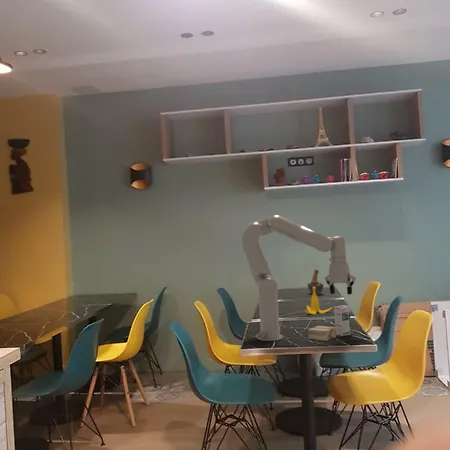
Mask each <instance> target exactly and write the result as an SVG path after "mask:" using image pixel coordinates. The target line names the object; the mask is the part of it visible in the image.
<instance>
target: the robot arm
mask: <svg viewBox="0 0 450 450" xmlns="http://www.w3.org/2000/svg"><path fill="white" fill-rule="evenodd" d="M275 232H276V234H279V235H282V236H283V237H286V238H287V239H288V238H289V239H290V240H292V241H295V242H298V243H302V244H304V245H307V246H309V247H311V248H314V249H315V250H317V252H322V253H328V252H330V258H329V259H328V261H329V262H330V263H329V269H328V275H327V276H325V277H324V279H325V282H326V284H327V285H328V286H329V292H330V295H333V294H335V293H336V291H335V288H336V287H335V285H334V284H345V285H346V286H347V287H346V292H347V295H348V296H350V295H352V294H353V285H354V284H355V282H356V277H355V276H353V275H352V274H351V273H350V272H351V271H350V267H349V264H348V262H347V251H346V240H345V236H342V235H336V236H325V235H323V234H321V233H318V232H316V231H315V230H311V229H310V228H308V227H306V226H304V225H302V224H300V223H297V222H294V221H292V220H290V219H289V218H286V217H284V216H282V215H279V214H274V215H270V216H267V217H265V218H262V219H259V220H255V221H252V222H250V223H248V224H247V225H246V228H245V230H244V231H243V233H242V236H241V246H242V249H243V252H244V255H245V258H246V260H247V262H248V267H249V270H250V273H251V275H252V277H253V280H254V282H255V284H256V286H257V288H258V305H259V324H260V330H259V333H256V334H255V338H257V339H258V340H260V341H263V342H264V341H265V342H274V341H279V340H282V339H284V336H283V334H280V317H279V300H278V296H279V294H278V293H279V288H278V283H277V281H276V279H275V278H274V276H273V274H272V272H271V269H270V268H269V263H268V260H267V259H266V257H265V255H264V253H263V251H262V247H261V245H260V238H261V237H263V236H266V235H268V234H271V233H275Z"/></svg>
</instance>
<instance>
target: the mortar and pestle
mask: <svg viewBox="0 0 450 450" xmlns="http://www.w3.org/2000/svg"><path fill="white" fill-rule="evenodd" d="M318 275H319V270H318V269H314V272H313V274H312V279H311V282H310V283H307V288H308V290H309V292H310V293H311V295H313V288H312V287H316V288H315V293H316V296H320V295H321V293H322V292H323V290H324V283H322V282H319V281H318Z"/></svg>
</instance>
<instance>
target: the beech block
mask: <svg viewBox="0 0 450 450" xmlns="http://www.w3.org/2000/svg"><path fill="white" fill-rule="evenodd" d="M307 332H308V333H307V335H308V340H315V341H323V342H325V341H327V342H328V341H330V340H332V339H335V338H336V337H337V334H336V327H335V326H325V325H317V326H313V327H311V328H309V329H308V331H307Z"/></svg>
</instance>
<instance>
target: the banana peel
mask: <svg viewBox="0 0 450 450" xmlns="http://www.w3.org/2000/svg"><path fill="white" fill-rule="evenodd" d="M312 288H313V294H311V300H310V305H306V309H305V310H304V311H305V313H306V314H308V315H316V314H317V313H319V314H325V313H327V312H329V311H330V310H332V308H333V307H329V308H328V309H324V310H321V309H320V302H319V298H318V295H316V293H315V288H316V287H312Z"/></svg>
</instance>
